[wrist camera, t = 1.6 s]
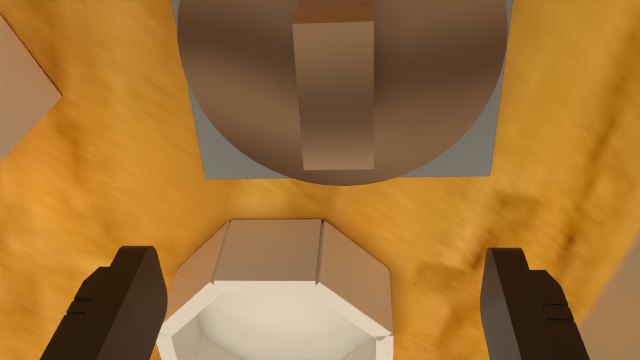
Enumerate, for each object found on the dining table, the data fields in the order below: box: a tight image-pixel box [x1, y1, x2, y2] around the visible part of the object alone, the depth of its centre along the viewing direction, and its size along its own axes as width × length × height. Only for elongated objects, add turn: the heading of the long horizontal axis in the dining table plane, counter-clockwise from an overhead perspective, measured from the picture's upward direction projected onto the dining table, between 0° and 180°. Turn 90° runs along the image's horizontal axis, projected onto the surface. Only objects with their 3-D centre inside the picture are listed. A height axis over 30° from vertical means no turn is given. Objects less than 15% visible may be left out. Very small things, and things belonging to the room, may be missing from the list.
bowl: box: [156, 219, 393, 360], centre depth 35 cm, size 13×13×5 cm
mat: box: [172, 0, 513, 179], centre depth 27 cm, size 15×15×1 cm
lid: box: [177, 0, 508, 186], centre depth 25 cm, size 14×14×6 cm
